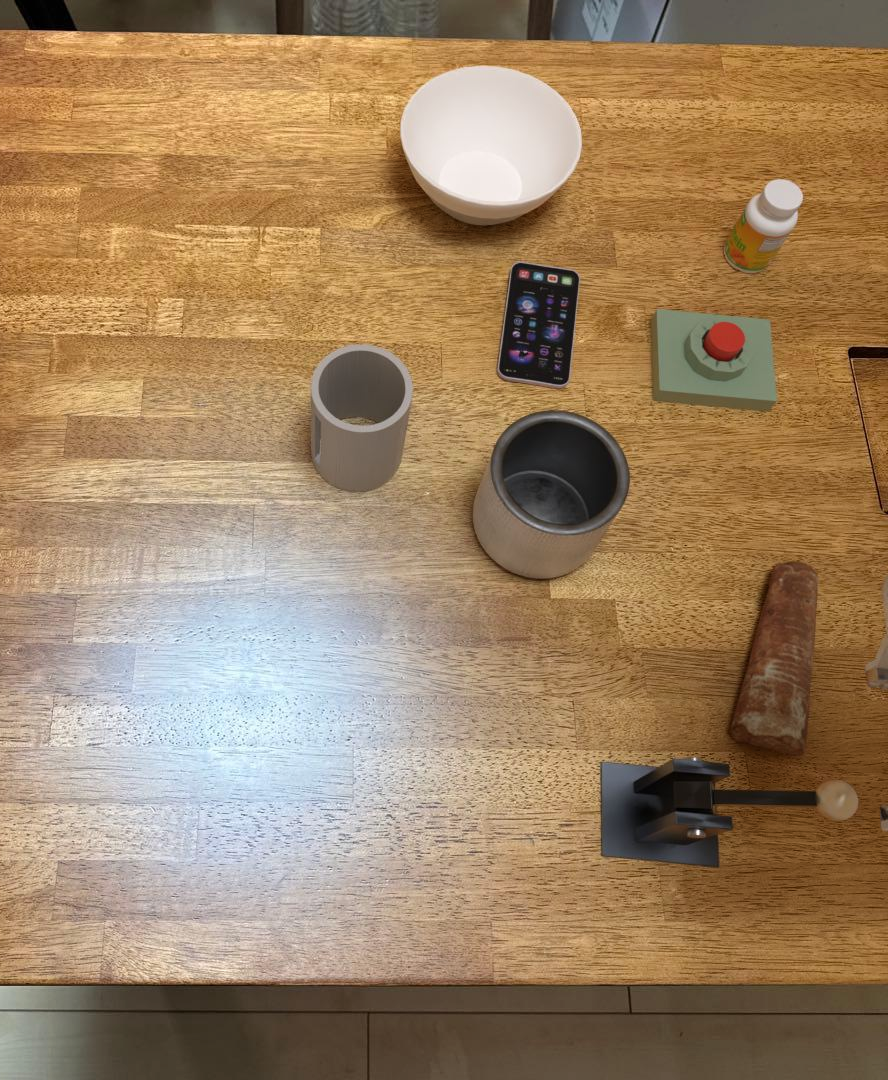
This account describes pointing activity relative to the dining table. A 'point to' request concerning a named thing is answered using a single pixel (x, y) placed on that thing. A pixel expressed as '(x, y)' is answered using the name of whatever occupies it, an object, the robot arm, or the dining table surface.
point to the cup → (359, 391)
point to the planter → (549, 493)
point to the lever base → (659, 813)
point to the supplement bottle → (763, 227)
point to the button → (724, 341)
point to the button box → (711, 362)
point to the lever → (767, 798)
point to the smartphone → (539, 325)
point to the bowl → (489, 142)
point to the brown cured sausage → (780, 664)
